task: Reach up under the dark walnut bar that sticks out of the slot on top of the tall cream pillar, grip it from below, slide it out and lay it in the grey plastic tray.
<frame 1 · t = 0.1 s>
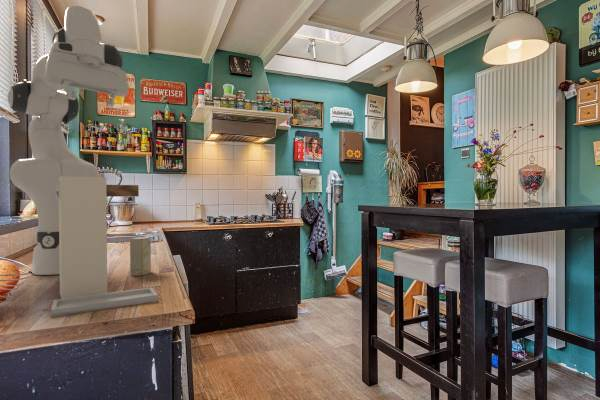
hand: (92, 102, 97), 52 cm above the countertop, tool tilted 20°, fingers open, 8 cm apart
tray: (107, 303, 85), on the countertop
skincare box: (140, 274, 118), on the countertop
tall cream pillar: (83, 294, 94), on the countertop
walnut bar: (101, 196, 96), point 26 cm above the countertop, touching tall cream pillar
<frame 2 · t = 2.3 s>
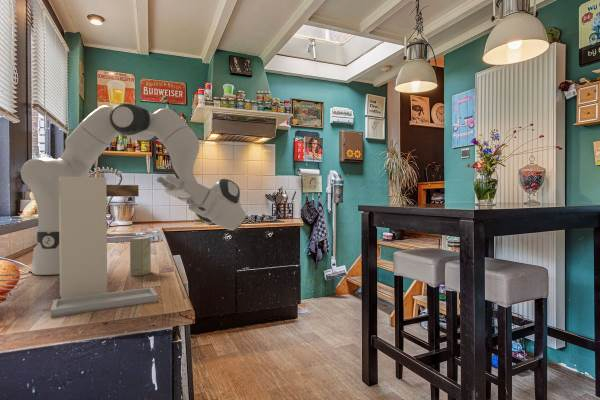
hand: (162, 177, 106), 32 cm above the countertop, tool pointing upward, fingers open, 8 cm apart
nothing on the countertop moved.
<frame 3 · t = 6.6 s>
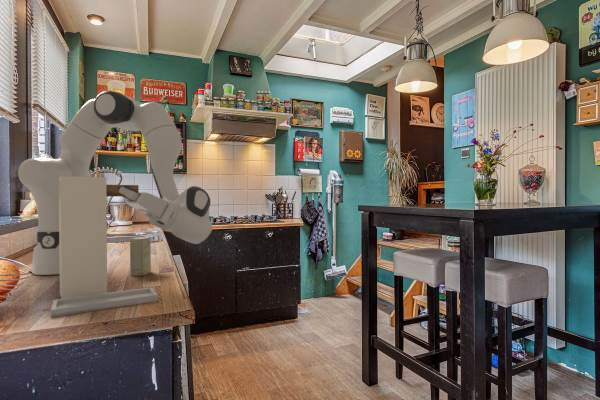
hand: (117, 189, 98), 28 cm above the countertop, tool pointing upward, fingers closed on walnut bar, 3 cm apart
walnut bar: (101, 196, 96), point 26 cm above the countertop, touching gripper, tall cream pillar
everything else where it was.
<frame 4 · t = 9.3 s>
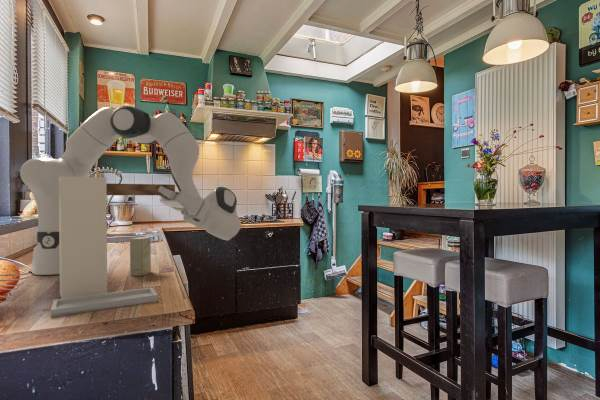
hand: (156, 188, 104), 28 cm above the countertop, tool pointing upward, fingers closed on walnut bar, 3 cm apart
walnut bar: (141, 195, 102), point 26 cm above the countertop, touching gripper
everything else where it was.
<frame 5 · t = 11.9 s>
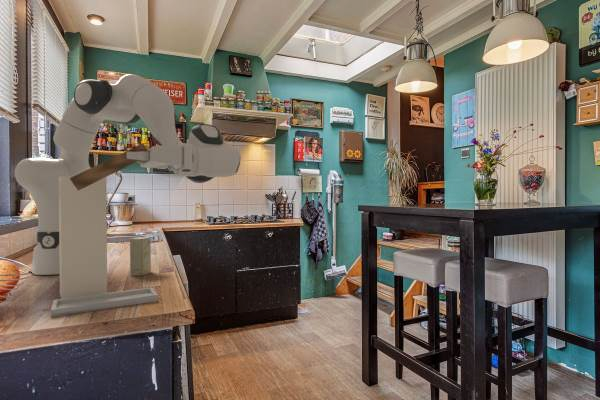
hand: (125, 156, 87), 36 cm above the countertop, tool horizontal, fingers closed on walnut bar, 3 cm apart
walnut bar: (115, 172, 86), point 32 cm above the countertop, tilted 31°, touching gripper
everything else where it was.
when the fingers open (6 cm above the countertop, at t = 15.8 s): walnut bar drops 2 cm, resting on tray.
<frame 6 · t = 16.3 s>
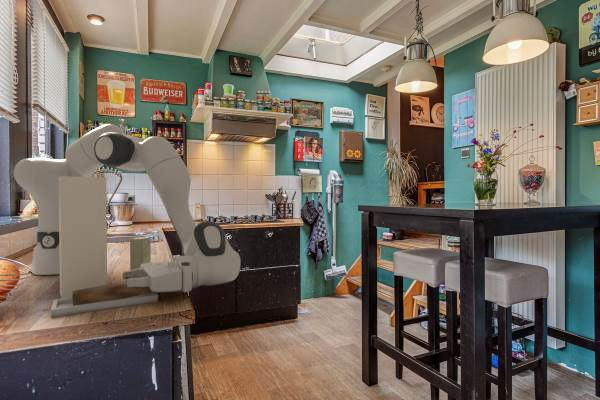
hand: (124, 279, 87), 6 cm above the countertop, tool horizontal, fingers open, 8 cm apart
walnut bar: (117, 297, 86), point 1 cm above the countertop, touching tray
everything else where it was.
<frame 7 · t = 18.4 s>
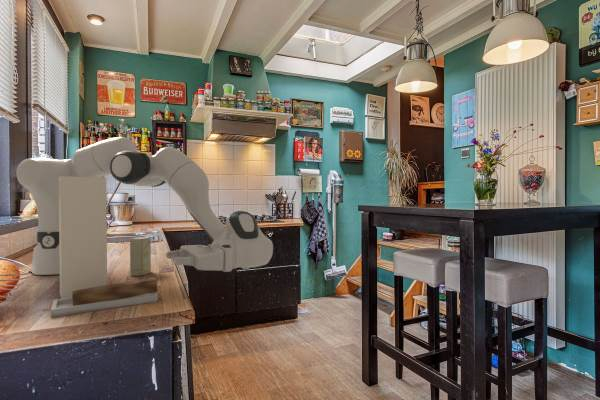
hand: (170, 258, 94), 10 cm above the countertop, tool horizontal, fingers open, 8 cm apart
nothing on the countertop moved.
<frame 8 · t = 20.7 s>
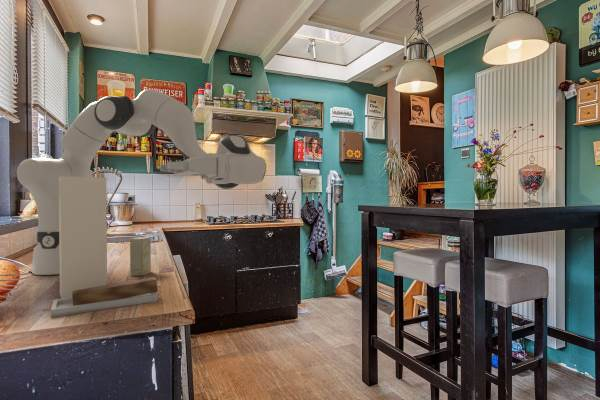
hand: (163, 166, 94), 34 cm above the countertop, tool horizontal, fingers open, 8 cm apart
nothing on the countertop moved.
at the end: walnut bar inside the target area on the tray (2.2 cm from its centre), point 1.1 cm above the tray's base; walnut bar point 1.1 cm above the countertop; walnut bar touching tray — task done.
